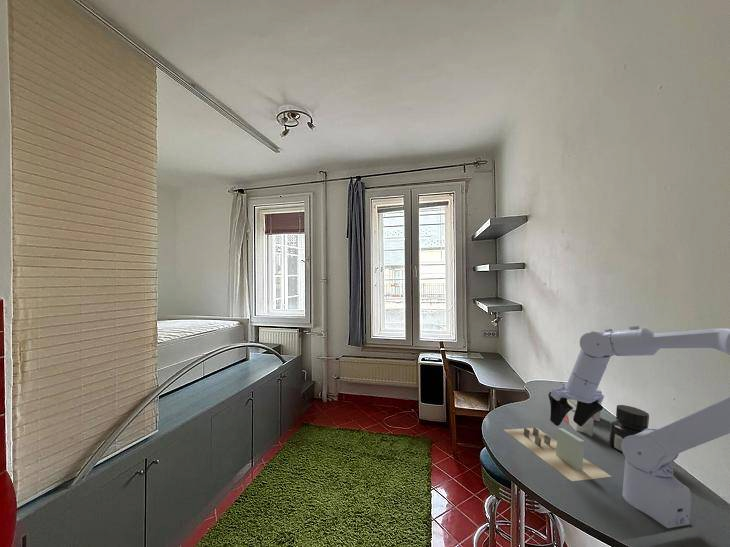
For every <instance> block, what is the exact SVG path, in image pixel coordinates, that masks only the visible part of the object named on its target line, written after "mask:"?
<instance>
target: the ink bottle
mask: <svg viewBox="0 0 730 547" xmlns="http://www.w3.org/2000/svg"><path fill="white" fill-rule="evenodd" d="M615 411H616V412H615V419H616V420H613V421H611V423H610V425H609V426H610V427H609V440H608V445H609V447H610V448H611V449H613V450H614V451H617V452H619V453H620V454H622V455H624V454H623V452H622V448H621V443H622V440H623V439H624V438H625V437H627V436H630V435H635V434H637V433H640V432H642V431H643V430H645V429H649V421H650V414H649V413H648V412H646V410H642V409H641V408H637V407H634V406H630V405H624V404H618V405H616V409H615Z"/></svg>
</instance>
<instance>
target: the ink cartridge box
mask: <svg viewBox="0 0 730 547" xmlns="http://www.w3.org/2000/svg"><path fill="white" fill-rule="evenodd" d="M567 402H568V404H569V405H570V406H572V407H573V409H572V410H570V411H569V412H568V413H567V414H566V415H565V417H564V418H563V422H565V423H566V424H568V425H570V426H571V428H573V429H574V430H575V431H576V432H581V433H584V434H585V435H588V436H590V437H593V433H594V423H595V422H594V421H595V420H594V415H593V416H592V417H590V418H589V419H588V420H587V422H586V423H585V424H584V425H583V426H579V425H578V424H577V423H576V422H574V421H573V418H574V414H575V411H576V407H577V400H571V399H567Z"/></svg>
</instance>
